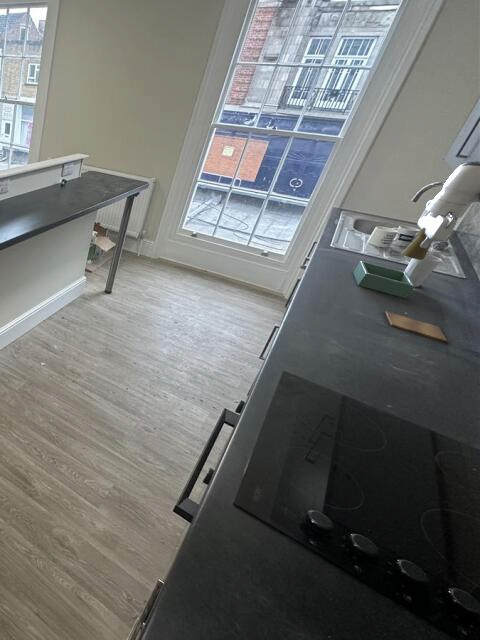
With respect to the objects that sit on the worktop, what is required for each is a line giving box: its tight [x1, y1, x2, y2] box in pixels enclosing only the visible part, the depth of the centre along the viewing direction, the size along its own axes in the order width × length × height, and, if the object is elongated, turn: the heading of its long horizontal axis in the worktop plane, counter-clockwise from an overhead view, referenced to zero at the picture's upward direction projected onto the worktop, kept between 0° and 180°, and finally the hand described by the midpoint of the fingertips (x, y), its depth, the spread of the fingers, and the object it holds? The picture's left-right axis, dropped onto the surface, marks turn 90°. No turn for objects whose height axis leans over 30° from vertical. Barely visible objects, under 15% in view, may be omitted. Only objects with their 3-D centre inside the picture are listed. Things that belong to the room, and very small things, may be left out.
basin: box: [352, 260, 416, 299], centre depth 161 cm, size 15×15×6 cm
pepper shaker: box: [401, 227, 433, 260], centre depth 146 cm, size 6×6×11 cm
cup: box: [403, 253, 443, 287], centre depth 164 cm, size 8×8×12 cm
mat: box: [384, 311, 448, 343], centre depth 136 cm, size 14×10×1 cm
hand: (420, 244), depth 146 cm, fingers closed on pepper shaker, 4 cm apart
